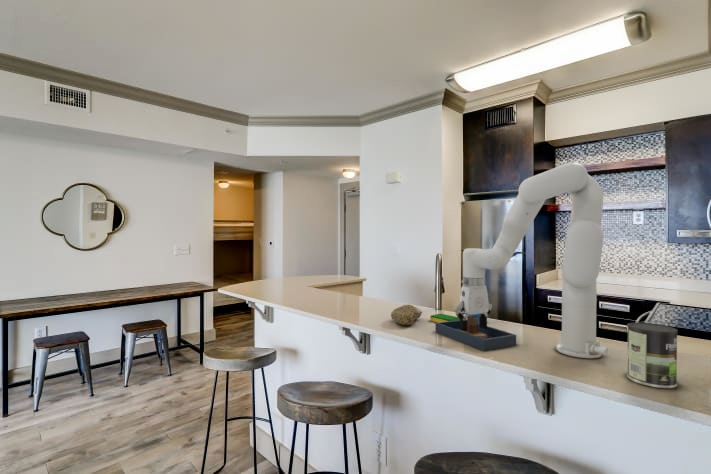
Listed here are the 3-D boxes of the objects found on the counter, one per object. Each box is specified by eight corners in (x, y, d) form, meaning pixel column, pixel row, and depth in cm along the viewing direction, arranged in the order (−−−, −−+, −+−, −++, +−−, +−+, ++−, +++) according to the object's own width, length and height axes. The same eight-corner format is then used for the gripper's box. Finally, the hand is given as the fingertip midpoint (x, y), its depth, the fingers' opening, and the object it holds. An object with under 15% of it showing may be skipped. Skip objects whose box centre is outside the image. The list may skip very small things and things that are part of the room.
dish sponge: (456, 327, 153) (456, 321, 153) (429, 320, 164) (429, 315, 164) (466, 324, 158) (466, 318, 158) (440, 318, 168) (440, 313, 168)
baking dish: (516, 345, 129) (516, 334, 129) (484, 351, 122) (484, 340, 122) (464, 328, 152) (464, 319, 152) (435, 332, 145) (435, 322, 145)
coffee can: (682, 382, 97) (683, 327, 96) (669, 392, 91) (670, 334, 90) (634, 370, 105) (635, 320, 105) (620, 378, 99) (620, 325, 99)
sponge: (402, 319, 173) (378, 317, 157) (406, 302, 173) (383, 299, 157) (427, 328, 165) (405, 328, 149) (431, 311, 165) (410, 309, 149)
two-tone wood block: (487, 338, 134) (487, 318, 134) (476, 340, 132) (476, 319, 132) (469, 332, 142) (469, 313, 142) (459, 334, 140) (459, 314, 140)
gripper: (462, 284, 130) (461, 334, 130) (499, 282, 137) (499, 329, 137) (447, 282, 136) (447, 329, 137) (484, 279, 144) (483, 324, 144)
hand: (473, 329), depth 137 cm, fingers open, 8 cm apart
